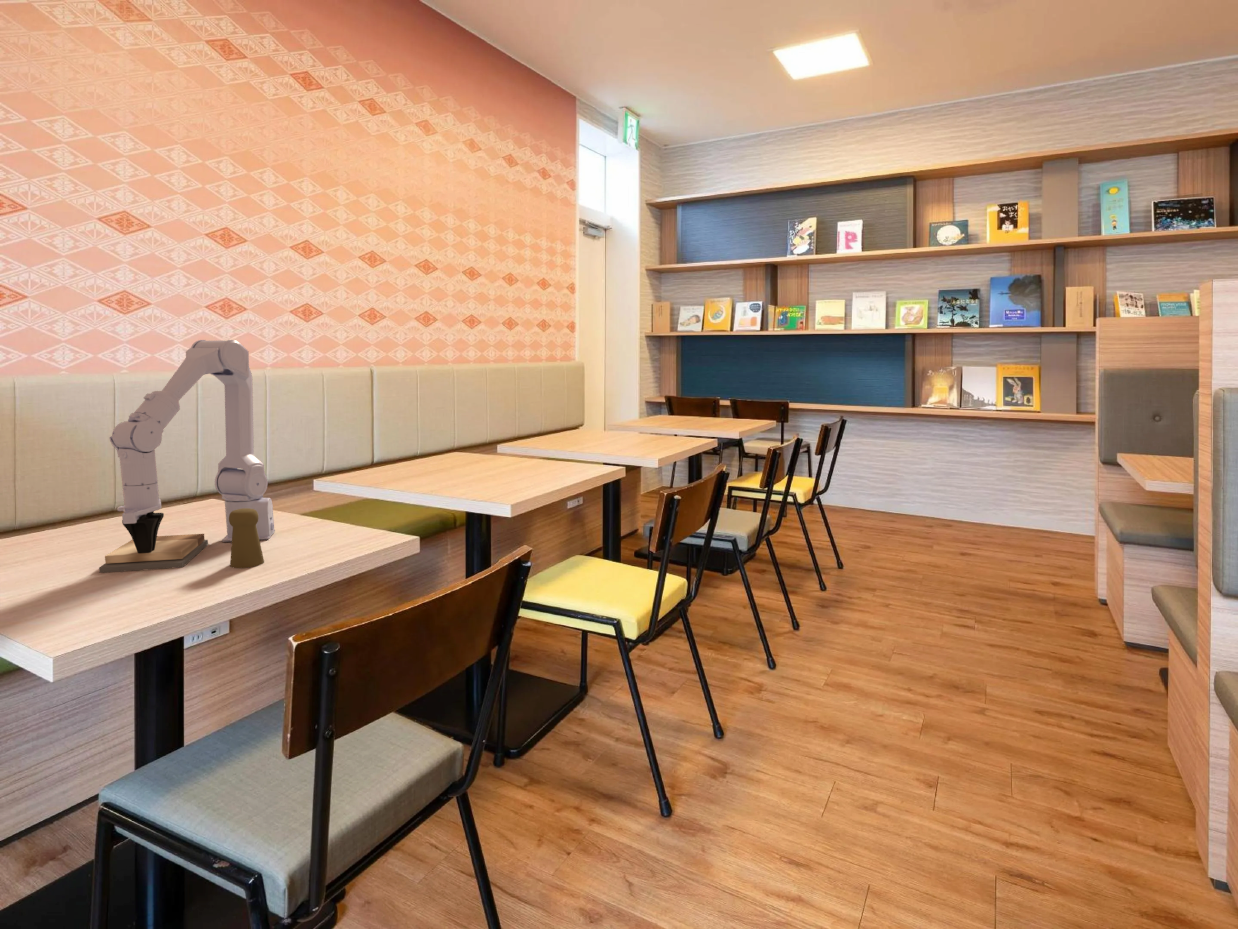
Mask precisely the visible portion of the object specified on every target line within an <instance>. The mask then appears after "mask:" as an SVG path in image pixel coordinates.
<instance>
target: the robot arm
mask: <svg viewBox="0 0 1238 929" xmlns="http://www.w3.org/2000/svg"><path fill="white" fill-rule="evenodd" d="M249 352H250V351H249V350H248V349H247V348H246V347H245V346H244V345H243V344H242V343H241V342H240V341H238V340H236V339H228V340H206V339H198V340H196V341H195V342H193V344H192V345H191V347H189V348H188V349H187V350H186V351H185V358H184V360H183V361H182V362H181V364H180V365H179V367H178V368H177V369H176V371H175V372H174V374H173V375H172V376H171V377H170V379H169V380H168V382H167V383H166V384H165V386H164V387H163V389H162V390H154V391H151V392H150V393H146V394H145V396H144V397H143V399H144V401H142V402H141V404H140V405H139V406H138V407H137V409H136V410H135V411H134V412H132V413H130V415H128V419H127V420H126V421H124V420H123V422H122V421H121V422H120V423H118V424H116V426H115V427H114V429H113V431H112V433H111V436H109V442H110V444H111V445H112V447H113V448H114V449H115V450H116V452H117V458H119V463H120V464H119V466H120V476H121V485H122V486H121V487H122V495H123V505H120V506H118V507H117V512H123V513H121V517H122V519H121V522H122V526H123V527H124V528H125V529H126V530H127V531H128V534H129V535H130V537H131V540H132V539H133V541H134V544H135V547H136V549H137V552H138V553H151V552H152V551H154V550H155V545H156V539H157V536H158V532H159V529H160V524H161V523H162V521H163V518H164V517H165V516H164V514H165V513H164V512H155V511H158V510H161V509H162V500H161V498H160V494H159V493H160V492H159V483H158V481H159V480H158V473H157V472H158V470H157V461H156V449H157V448H158V447H159V446H160V445H161V444H162V441H163V440H162V439H163V438H162V437H163V433H164V432H165V428H166V427H167V426H168V425H169V423H170V422H171V421H172V420H173V419H174V418H175V416H176V415H177V414H178V412H179V411H180V410H181V406H180V402H179V401H180V400H181V399H182V398H183V397H184V396H185V395H186V394H187V393H188V392H189V391H190V390H191V389H192V388H193V387H194V386H195V385H196V383H198V382H199V381H200V379H201V378H203V376H204V375H205V376H206V375H211V376H214V377H215V378H216V379H218V380H219V381H220V382H221V383H222V384H223V386H224V414H225V416H224V417H225V419H224V424H225V425H224V426H225V456H224V457H223V458H222V459H221V460H220V461H219V462H218V464H217V473H216V475H215V479H214V487H215V490H216V492H218V493H219V494H220V495H221V499H222V500H224V509H225V510H224V511H225V523H226V534H227V535H225V536H224V537H223V538H222V539H221V542H223V543H227V542H232V531H233V527H232V526H231V525H230V522H229V515H230V513H231V512H232V511H234V510H237V509H242V508H250V509H254V510H256V511H257V512H258V516H259V519H258V522H257V524H256V527H257V532H258V536H259V541H260V540H261V541H262V540H269V539H270V538H271V537H272V536H273V535H274V533H275V532H276V529H275V519H274V506H273V501H272V498H270V497H264V494H265V493H266V491H267V489H268V482H269V481H268V477H267V475H266V472H265V464H264V463H263V462H262V461H261V460H260V459H259V458H257V457H256V456H255V453H254V452H255V450H254V449H255V448H254V447H255V446H254V442H255V441H254V396H253V393H254V392H253V391H254V390H253V383H254V382H253V374H252V371H251V368H250V355H249Z"/></svg>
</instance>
